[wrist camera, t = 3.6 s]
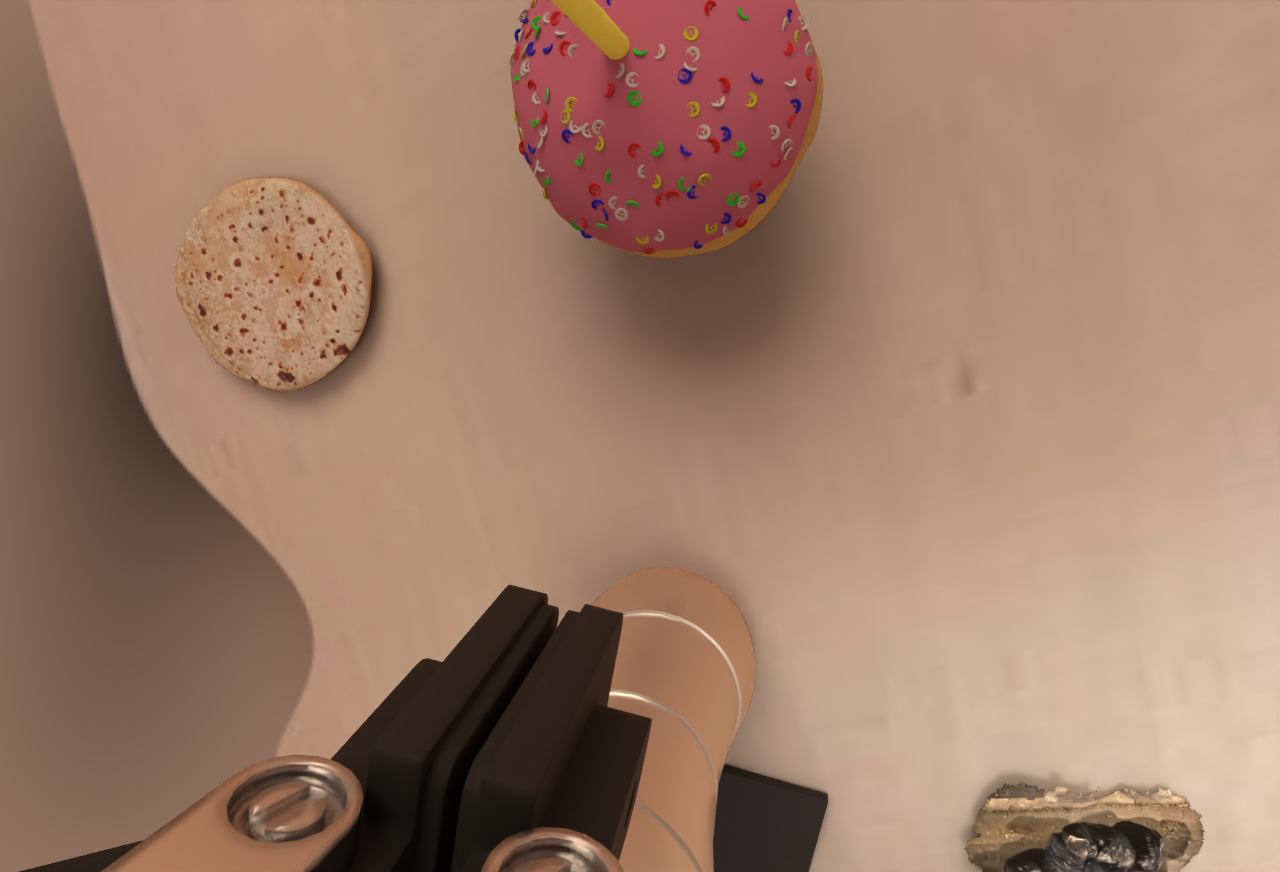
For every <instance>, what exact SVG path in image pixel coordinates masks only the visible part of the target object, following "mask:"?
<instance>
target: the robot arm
mask: <svg viewBox="0 0 1280 872" xmlns="http://www.w3.org/2000/svg"><path fill="white" fill-rule="evenodd" d="M558 615H559V609H558V607H555V606H551V605H548V596H547V594H545V593H541V592H537V591H533V590H529V589H525V588H521V587H517V586H513V585H508V586H507V587H506V588H505V589H504V590H503V592H502V593H501V594H500V595H499V596H498V597H497V599H496V600H495V601H494V602H493V603H492V605H491V606H490V607H489V608H488V609H487V610H486V612H485V613H484V614H483V615H482V616H481V617H480V619H479V620H478V621H477V622H476V623H475V625H474V626H473V627H472V628H471V629H470V630H469V632H468V633H467V634H466V635H465V636H464V637H463V639H462V640H461V641H460V642H459V643H458V644H457V646H456V647H455V648H454V649H453V650H452V652H451V653H450V654H449V655H448V656H447V657H446V659H445V660H444V661H443V662H440V661H436V660H432V659H429V658H428V659H423V660H421V661H420V662H419V663H418V664H417V665H416V666H415V667H414V668H413V669H412V670H411V671H410V672H409V674H408V675H407V676H406V677H405V678H404V679H403V680H402V681H401V682H400V684H399V685H398V686H397V687H396V688H395V689H394V690H393V691H392V692H391V693H390V695H389V696H388V697H387V698H386V699H385V700H384V701H383V702H382V703H381V704H380V706H379V707H378V708H377V709H376V710H375V711H374V712H373V713H372V714H371V715H370V717H369V718H368V719H367V720H366V721H365V722H364V723H363V724H362V725H361V726H360V728H359V729H358V730H357V731H356V732H355V733H354V734H353V735H352V736H351V738H350V739H349V740H348V741H347V742H346V743H345V744H344V745H343V746H342V747H341V749H340V750H339V751H338V752H337V753H336V754H335V755H334V756H333V757H332V758H331V760H329V759H326V758H322V757H319V756H307V755H290V756H283V757H275V758H271V759H268V760H265V761H262V762H259V763H256V764H252V765H251V766H249V767H247V768H245V769H243V770H242V771H240V772H238V773H236V774H235V775H233V776H231V777H230V778H229V779H227V780H226V781H225V782H223V783H222V784H220V785H219V786H218V787H216V788H215V789H214V790H212V791H211V792H209V793H208V794H207V795H205V796H204V797H203V798H201V799H200V800H198V801H197V802H196V803H194V804H193V805H192V806H190V807H189V808H188V809H186V810H185V811H183V812H182V813H181V814H179V815H178V816H177V817H175V818H174V819H173V820H171V821H170V822H168V823H167V824H166V825H164V826H163V827H161V828H160V829H159V830H157V831H156V832H154V833H153V834H152V835H150V836H149V837H148V838H146V839H145V840H143V841H139V842H135V843H131V844H127V845H123V846H120V847H115V848H111V849H107V850H104V851H99V852H96V853H91V854H87V855H84V856H79V857H75V858H72V859H67V860H63V861H59V862H55V863H52V864H48V865H44V866H40V867H36V868H32V869H28V870H24V871H20V872H624V871H623V869H622V867H621V865H620V863H619V859H620V856H621V852H622V849H623V845H624V842H625V838H626V835H627V831H628V828H629V824H630V820H631V816H632V812H633V808H634V804H635V800H636V796H637V792H638V787H639V783H640V778H641V774H642V769H643V764H644V760H645V755H646V750H647V745H648V740H649V735H650V730H651V724H652V718H648V717H644V716H641V715H637V714H633V713H629V712H626V711H622V710H618V709H615V708H611V707H607V705H608V699H609V694H610V689H611V683H612V678H613V673H614V668H615V662H616V657H617V652H618V646H619V641H620V636H621V630H622V625H623V613H620V612H616V611H612V610H608V609H604V608H600V607H596V606H592V605H588V604H585V605H584V607H583V608H582V610H581V612H580V613H578V612H574V611H570V610H568V612H567V613H566V614H565V616H564V618H563V619H562V621H561V622H560V624H559V626H558V627H557V622H558Z"/></svg>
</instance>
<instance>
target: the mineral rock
mask: <svg viewBox="0 0 1280 872" xmlns="http://www.w3.org/2000/svg"><path fill="white" fill-rule="evenodd" d="M1059 786H1060V787H1055V788H1056V791H1055V792H1052V791H1050V792H1049V790H1048V791H1046V790H1045V789H1040V790H1039V789H1038V787H1037V786H1033V787H1031V786H1029V787H1028V786H1027V784H1026V783H1023V782H1019V784H1018V785H1017V786H1015V787H1014V786H1013V785H1012V786H1010V785H1009V784H1008V785H1007V784H1006V783H1005V784H1004V785H1003V787H1004V788H1002V789H1001V790H999V789H997V791H996V793H993V794H991V795H990V797H989V796H988V799H989V800H987V801H988V803H985V807H982V809H981V811H979V812H980V813H978V814H979V815H977V816H978V819H977V820H976V822H977V823H976V824H975V825H974V826H973V827H974V829H975V830H976V832H977V833H981V837H979V838H977V839H976V838H973V839H971V840H970V842H968V841H967V842H968V843H969V844H967V846H968V847H966V848H964V849H965V850H966V852H967V853H968V855H969V856H970V857H969V860H970V862H971V863H975V864H976V865H978V866H980V867H981V868H982V870H983V872H1180V868H1182V867H1184V866H1186V864H1187V863H1188V862H1190V861H1189V860H1190V859H1191V858H1192V856H1194V855H1196V854H1198V853H1199V851H1200V847H1201V846H1202V843H1203V842H1202V840H1204V839H1203V832H1204V831H1203V829H1202V828H1203V827H1202V824H1201V822H1200V821H1199V819H1200V817H1202V816H1201V815H1199V816H1198V814H1197V813H1196V812H1192V810H1191V809H1190V808H1189V806H1190V804H1189V802H1188V801H1187V800H1186V798H1182V797H1180V798H1179V797H1178V796H1177V794H1176V795H1175V796H1174V795H1173V793H1172V792H1171V791H1170V790H1169V789H1168V790H1162V789H1161V788H1159V792H1158V793H1155V794H1153V795H1151V796H1149V791H1146V792H1145V794H1142V793H1141V792H1140V793H1138V791H1134V790H1132V789H1131V790H1130V791H1129V792H1128V791H1127V789H1126V787H1125V789H1124V790H1122V791H1120V790H1117V791H1115V792H1114V793H1112V794H1110V795H1108V796H1106V797H1105V796H1104V798H1101V799H1100V798H1098V799H1096V800H1095V799H1094V798H1093V797H1092V796H1093V795H1094V794H1095V792H1098V789H1100V787H1099V788H1097V790H1096V791H1095V792H1090V794H1089V796H1082V793H1083V792H1082V793H1080V796H1078V797H1077V796H1076V794H1072V793H1071V794H1066V791H1068V788H1066V787H1063V786H1061V785H1059Z"/></svg>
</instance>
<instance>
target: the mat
mask: <svg viewBox="0 0 1280 872" xmlns="http://www.w3.org/2000/svg"><path fill="white" fill-rule="evenodd" d="M827 804H828V795H827V794H826V793H822V792H818V791H815V790H811V789H808V788H804V787H801V786H797V785H794V784H790V783H787V782H783V781H779V780H776V779H772V778H769V777H765V776H762V775H758V774H755V773H751V772H747V771H744V770H740V769H737V768H733V767H730V766H726V765H724V767H723V770H722V773H721V776H720V780H719V783H718V794H717V804H716V815H715V826H714V837H713V863H714V872H809V868H810V865H811V861H812V857H813V854H814V850H815V847H816V843H817V840H818V836H819V832H820V829H821V825H822V822H823V818H824V814H825V811H826V807H827Z"/></svg>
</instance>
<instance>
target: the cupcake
mask: <svg viewBox="0 0 1280 872" xmlns="http://www.w3.org/2000/svg"><path fill="white" fill-rule="evenodd" d="M530 6H531V7H530V8H529V10H527V9H525V8H524V9H522V10H521V11H520V13H519V21H520V22H522V23H523V25H522V27H521V29H517V30H516V31H515V39H516V41H517V42H516V46H515V49H514V52H512V53H511V54H510V56H509V63H510V65H511V78H512V88H513V97H514V105H515V111H514V112H513V116H514V119H515V120H516V122H517V125H518V130H519V135H520V140H521V142H520V144H519V151H520V153H521V154H522V155H524V157H525V159H526V161H527V163H528V165H529V166H530V168H531V170H532V171H533V173H534V175H535V176H536V178H537V180H538V181H539V183H540V185H541V186H542V188H543V195H544V198H545V199H548V198H549V200H550V202H551V204H552V206H553V207H554V209H555V211H556V212H557V213H558V214H559V215H560V216H561V217H562V218H563V219H564V220H566V221H567V222H568V223H569V224H571V225H572V226H573V228H575V229H577V230H580V231H581V234H582V236H583V237H585V238H587V239H589V238H591V237H593V238H595V239H597V240H599V241H601V242H603V243H605V244H607V245H609V246H611V247H613V248H616V249H618V250H622V251H625V252H629V253H633V254H637V255H642V256H648V257H654V258H672V257H680V256H686V255H692V254H699V253H705V252H709V251H713V250H716V249H719V248H722V247H725V246H727V245H729V244H731V243H733V242H734V241H736V240H737V239H739V238H740V237H742V236H743V235H744V234H746V233H747V232H749V231H750V230H751V229H753V228H754V227H755V226H756V225H757V224H758V223H759V222H760V221H761V220H762V219H763V218H764V217H765V216H766V215H767V214H768V213H769V211H770V210H771V209H772V208H773V206H774V205H775V204H776V203H777V201H778V200H779V198H780V197H781V195H782V194H783V192H784V190H785V189H786V187H787V185H788V183H789V182H790V180H791V178H792V176H793V174H794V172H795V171H796V169H797V167H798V165H799V163H800V161H801V159H802V157H803V155H804V154H805V152H806V150H807V149H808V147H809V145H810V144H811V142H812V140H813V138H814V136H815V133H816V130H817V126H818V121H819V117H820V112H821V106H822V98H823V78H822V71H821V66H820V62H819V59H818V56H817V53H816V50H815V48H814V45H813V43H812V41H811V38H810V35H809V33H808V30H807V28H808V26H809V22H808V19H807V18H806V17H804V16H801V14H800V12H799V9H798V7H797V5H796V2H795V0H532V1H531V4H530ZM525 12H526V16H525ZM522 13H524V15H523V16H522ZM523 17H525V18H524V19H522V18H523ZM803 20H804V21H803ZM804 22H805V23H804ZM519 32H520V33H519ZM518 33H519V35H518ZM521 147H522V149H523V151H522V149H521ZM584 233H585V234H587V235H588V236H587V235H585V234H584Z"/></svg>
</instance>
